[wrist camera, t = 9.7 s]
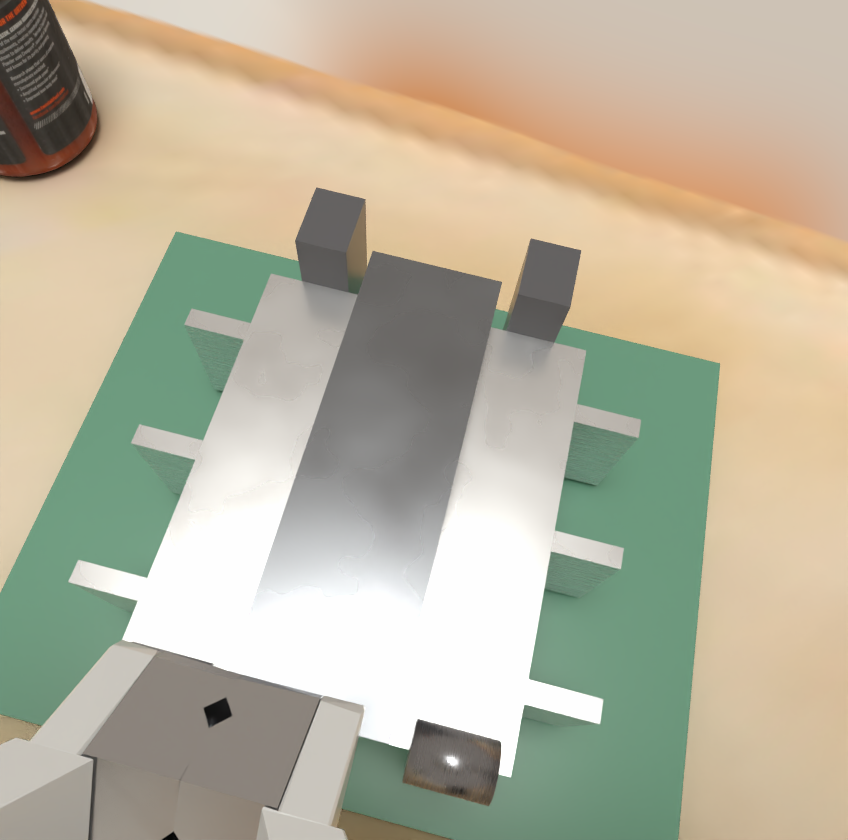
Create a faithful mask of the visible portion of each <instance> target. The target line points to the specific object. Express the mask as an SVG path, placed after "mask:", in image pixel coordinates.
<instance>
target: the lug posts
mask: <svg viewBox="0 0 848 840" xmlns="http://www.w3.org/2000/svg"><path fill="white" fill-rule="evenodd" d="M295 242H296V248H297V254H298V260H299V266H300V272H301V278H302V281H304V282H308V283H312V284H316V285H320V286H324V287H328V288H332V289H337V290H341V291H345V292H349V293H353V294H357V295H358V293H359V290H360V287H361V284H362V281H363V278H364V275H365V272H366V270H367V251H366V205H365V199H363V198H358V197H354V196H350V195H346V194H341V193H337V192H333V191H329V190H325V189H320V188H316V190H315V192H314V195H313V197H312V200H311V202H310V205H309V207H308V210H307V212H306V215H305V217H304V220H303V222H302V225H301V227H300V230H299V232H298V235H297V237H296V240H295ZM580 254H581V250H577V249H573V248H569V247H564V246H560V245H556V244H552V243H548V242H543V241H539V240H535V239H531V240H530V243H529V246H528V250H527V253H526V256H525V259H524V263H523V266H522V269H521V272H520V276H519V279H518V282H517V285H516V289H515V292H514V295H513V298H512V302H511V305H510V308H509V311H508V315H507V318H506V321H505V325H504V328H503V330H505V331H509V332H513V333H517V334H521V335H525V336H529V337H533V338H537V339H541V340H546V341H550V342H555V340H556V338H557V336H558V333H559V331H560V329H561V327H562V324H563V322H564V320H565V318H566V315H567V313H568V311H569V309H570V306H571V301H572V296H573V290H574V285H575V280H576V275H577V270H578V265H579V259H580Z"/></svg>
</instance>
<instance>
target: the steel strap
mask: <svg viewBox="0 0 848 840" xmlns="http://www.w3.org/2000/svg"><path fill="white" fill-rule="evenodd" d="M501 284H502V282H499V281H495V280H491V279H487V278H483V277H479V276H475V275H470V274H466V273H462V272H458V271H454V270H450V269H446V268H441V267H437V266H433V265H429V264H425V263H421V262H416V261H412V260H408V259H404V258H400V257H396V256H392V255H387V254H383V253H379V252H375V251H373V252H372V255H371V258H370V261H369V264H368V267H367V270H366V272H365V275H364V278H363V281H362V284H361V287H360V290H359V293H358V296H357V299H356V302H355V305H354V307H353V310H352V313H351V316H350V319H349V322H348V325H347V328H346V331H345V334H344V337H343V340H342V342H341V345H340V348H339V351H338V354H337V357H336V360H335V363H334V366H333V369H332V372H331V374H330V377H329V380H328V383H327V386H326V389H325V392H324V395H323V398H322V401H321V404H320V407H319V409H318V412H317V415H316V418H315V421H314V424H313V427H312V430H311V433H310V436H309V439H308V442H307V444H306V447H305V450H304V453H303V456H302V459H301V462H300V465H299V468H298V471H297V474H296V476H295V479H294V482H293V485H292V488H291V491H290V494H289V497H288V500H287V503H286V506H285V509H284V511H283V514H282V517H281V520H280V523H279V526H278V529H277V532H276V535H275V538H274V541H273V544H272V546H271V549H270V552H269V555H268V558H267V561H266V564H265V567H264V570H263V573H262V576H261V579H260V581H259V584H258V587H257V590H256V593H255V596H254V599H253V602H252V605H251V608H250V611H249V613H248V616H247V619H246V622H245V625H244V628H243V631H242V634H241V637H240V640H239V643H238V646H237V648H236V651H235V654H234V657H233V660H232V663H231V666H230V669H229V671H232V672H235V673H238V674H242V675H247V676H251V677H254V678H258V679H262V680H266V681H270V682H273V683H277V684H281V685H285V686H289V687H292V688H296V689H300V690H304V691H308V692H311V693H315V694H319V695H323V696H324V695H325V696H329V697H333V698H336V699H340V700H344V701H348V702H352V703H356V704H360V705H364V707H365V712H364V718H363V722H362V726H361V730H360V734H359V736H360V737H364V738H367V739H371V740H375V741H378V742H382V743H386V744H390V739H391V735H392V731H393V727H394V723H395V719H396V715H397V711H398V707H399V702H400V698H401V694H402V690H403V686H404V682H405V678H406V674H407V670H408V666H409V661H410V657H411V653H412V649H413V645H414V641H415V637H416V633H417V629H418V625H419V620H420V616H421V612H422V608H423V604H424V600H425V596H426V592H427V588H428V584H429V579H430V575H431V571H432V567H433V563H434V559H435V555H436V551H437V547H438V543H439V538H440V534H441V530H442V526H443V522H444V518H445V514H446V510H447V506H448V502H449V497H450V493H451V489H452V485H453V481H454V477H455V473H456V469H457V465H458V460H459V456H460V452H461V448H462V444H463V440H464V436H465V432H466V428H467V424H468V419H469V415H470V411H471V407H472V403H473V399H474V395H475V391H476V387H477V383H478V378H479V374H480V370H481V366H482V362H483V358H484V354H485V350H486V346H487V342H488V337H489V333H490V329H491V325H492V321H493V317H494V313H495V309H496V305H497V301H498V296H499V292H500V288H501Z"/></svg>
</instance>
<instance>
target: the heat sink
mask: <svg viewBox="0 0 848 840" xmlns="http://www.w3.org/2000/svg"><path fill="white" fill-rule="evenodd" d="M357 296H358V295H357V294H353V293H349V292H345V291H341V290H337V289H332V288H328V287H324V286H320V285H316V284H312V283H308V282H304V281H300V280H296V279H291V278H287V277H283V276H279V275H275V274H271V275H270V277H269V280H268V282H267V285H266V287H265V289H264V292H263V294H262V297H261V299H260V302H259V304H258V307H257V309H256V312H255V314H254V317H253V319H252V321H251V323H248V322H244V321H240V320H236V319H232V318H228V317H224V316H220V315H216V314H212V313H208V312H204V311H200V310H196V309H192V308H191V311H190V313H189V315H188V317H187V319H186V322H185V324H184V326H185V328H186V330H187V332H188V334H189V336H190V338H191V341H192V343H193V345H194V347H195V349H196V351H197V353H198V356H199V358H200V360H201V362H202V364H203V366H204V368H205V371H206V373H207V375H208V377H209V379H210V381H211V383H212V386H213V388H214V389H216V390H220V391H223V393H222V395H221V398H220V400H219V403H218V405H217V408H216V410H215V413H214V415H213V417H212V420H211V422H210V425H209V427H208V430H207V432H206V435H205V437H204V440H199V439H195V438H191V437H187V436H183V435H179V434H176V433H172V432H168V431H164V430H160V429H156V428H152V427H148V426H144V425H140V424H139V426H138V428H137V430H136V433H135V435H134V437H133V439H132V442H131V444H132V445H133V446H134V448H135V449H136V450H137V451H138V452H139V454H140V455H141V456H142V457H143V458H144V460H145V461H146V462H147V463H148V464H149V466H150V467H151V468H152V469H153V470H154V472H155V473H156V474H157V475H158V476H159V478H160V479H161V480H162V481H163V482H164V484H165V485H166V486H167V487H168V488H169V490H170V491H171V492H173V493H177V494H181V496H180V499H179V501H178V504H177V506H176V509H175V511H174V513H173V516H172V518H171V521H170V523H169V526H168V528H167V531H166V533H165V536H164V538H163V541H162V543H161V545H160V548H159V550H158V553H157V555H156V558H155V560H154V563H153V565H152V568H151V570H150V573H149V575H148V577H147V578H145V577H141V576H138V575H134V574H130V573H126V572H123V571H119V570H115V569H111V568H107V567H104V566H100V565H96V564H92V563H89V562H85V561H81V560H78V561H77V564H76V566H75V568H74V570H73V572H72V575H71V577H70V579H69V581H68V582H69V583H71V584H73V585H75V586H77V587H79V588H81V589H83V590H85V591H87V592H89V593H91V594H93V595H95V596H97V597H99V598H100V599H102V600H104V601H106V602H108V603H110V604H112V605H114V606H116V607H118V608H120V609H122V610H125V611H129V612H133V614H132V617H131V619H130V622H129V624H128V627H127V629H126V632H125V634H124V637H123V639H122V640H125V641H128V642H132V643H135V644H138V645H141V646H145V647H148V648H151V649H154V650H157V651H161V652H162V651H165V652H168V653H172V654H175V655H178V656H182V657H185V658H188V659H192V660H195V661H198V662H202V663H205V664H208V665H212V666H215V667H218V668H222V669H225V670H228V671H229V669H230V666H231V663H232V660H233V657H234V654H235V651H236V648H237V646H238V643H239V640H240V637H241V634H242V631H243V628H244V625H245V622H246V619H247V616H248V613H249V611H250V608H251V605H252V602H253V599H254V596H255V593H256V590H257V587H258V584H259V581H260V579H261V576H262V573H263V570H264V567H265V564H266V561H267V558H268V555H269V552H270V549H271V546H272V544H273V541H274V538H275V535H276V532H277V529H278V526H279V523H280V520H281V517H282V514H283V511H284V509H285V506H286V503H287V500H288V497H289V494H290V491H291V488H292V485H293V482H294V479H295V476H296V474H297V471H298V468H299V465H300V462H301V459H302V456H303V453H304V450H305V447H306V444H307V442H308V439H309V436H310V433H311V430H312V427H313V424H314V421H315V418H316V415H317V412H318V409H319V407H320V404H321V401H322V398H323V395H324V392H325V389H326V386H327V383H328V380H329V377H330V374H331V372H332V369H333V366H334V363H335V360H336V357H337V354H338V351H339V348H340V345H341V342H342V340H343V337H344V334H345V331H346V328H347V325H348V322H349V319H350V316H351V313H352V310H353V307H354V305H355V302H356V299H357ZM585 356H586V350H582V349H578V348H574V347H570V346H566V345H562V344H558V343H554V342H550V341H546V340H541V339H537V338H533V337H529V336H525V335H521V334H517V333H513V332H509V331H505V330H500V329H496V328H492V327H491V329H490V333H489V337H488V342H487V346H486V350H485V354H484V358H483V362H482V366H481V370H480V374H479V378H478V383H477V387H476V391H475V395H474V399H473V403H472V407H471V411H470V415H469V419H468V424H467V428H466V432H465V436H464V440H463V444H462V448H461V452H460V456H459V460H458V465H457V469H456V473H455V477H454V481H453V485H452V489H451V493H450V497H449V502H448V506H447V510H446V514H445V518H444V522H443V526H442V530H441V534H440V538H439V543H438V547H437V551H436V555H435V559H434V563H433V567H432V571H431V575H430V579H429V584H428V588H427V592H426V596H425V600H424V604H423V608H422V612H421V616H420V620H419V625H418V629H417V633H416V637H415V641H414V645H413V649H412V653H411V657H410V661H409V666H408V670H407V674H406V678H405V682H404V686H403V690H402V694H401V698H400V702H399V707H398V711H397V715H396V719H395V723H394V727H393V731H392V735H391V739H390V745H394V746H398V747H401V748H405V749H409V750H408V755H407V759H406V764H405V768H404V774H403V779H402V783H405V784H409V785H412V786H416V787H420V788H423V789H427V790H431V791H434V792H438V793H441V794H445V795H449V796H452V797H456V798H460V799H463V800H467V801H471V802H474V803H478V804H482V805H485V806H489V805H490V804H491V801H492V799H493V796H494V792H495V789H496V785H497V780H498V775H499V774H501V775H504V776H508V777H511V774H512V768H513V762H514V757H515V751H516V745H517V740H518V734H519V728H520V723H521V717H524V718H528V719H532V720H535V721H539V722H543V723H547V724H550V725H554V726H558V727H566V726H581V725H596V724H600V721H601V713H602V706H603V699H601V698H597V697H593V696H589V695H586V694H582V693H578V692H574V691H570V690H567V689H563V688H559V687H555V686H552V685H548V684H544V683H540V682H537V681H533V680H529V679H528V678H529V672H530V666H531V661H532V655H533V649H534V644H535V638H536V632H537V627H538V621H539V616H540V610H541V604H542V599H543V593H544V589H547V590H551V591H554V592H558V593H562V594H566V595H570V596H574V597H577V598H580V597H582V596H583V595H585V594H586V593H588V592H589V591H590V590H592V589H593V588H595V587H596V586H598V585H599V584H601V583H602V582H603V581H605V580H606V579H608V578H609V577H611V576H612V575H613V574H615V573H616V572H618V571H619V570H621V565H622V558H623V550H624V548H621V547H617V546H613V545H609V544H605V543H602V542H598V541H594V540H590V539H586V538H582V537H578V536H574V535H570V534H566V533H563V532H559V531H555V525H556V520H557V514H558V508H559V503H560V497H561V491H562V486H563V480H564V477H565V478H569V479H573V480H577V481H581V482H585V483H589V484H593V485H598V484H599V483H600V482H601V481H602V480H603V478H604V477H605V476H606V475H607V474H608V473H609V471H610V470H611V469H612V468H613V467H614V466H615V465H616V463H617V462H618V461H619V460H620V459H621V458H622V456H623V455H624V454H625V453H626V452H627V451H628V450H629V448H630V447H631V446H632V445H633V444H634V443H635V441H636V440H637V439H638V438H639V432H640V424H641V420H640V419H636V418H632V417H628V416H624V415H620V414H616V413H612V412H608V411H604V410H600V409H596V408H592V407H587V406H583V405H579V404H577V401H578V395H579V390H580V384H581V379H582V373H583V367H584V362H585Z"/></svg>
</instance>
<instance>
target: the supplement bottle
mask: <svg viewBox="0 0 848 840" xmlns="http://www.w3.org/2000/svg"><path fill="white" fill-rule="evenodd" d="M96 125H97V110H96V106H95V103H94V100H93V98H92V95H91V92H90V90H89V87H88V85H87V83H86V81H85V79H84V76H83V74H82V72H81V70H80V68H79V66H78V63H77V61H76V59H75V57H74V55H73V52H72V50H71V48H70V46H69V43H68V41H67V39H66V37H65V35H64V33H63V31H62V28H61V26H60V24H59V22H58V20H57V17H56V15H55V13H54V11H53V9H52V7H51V4H50V2H49V0H0V175H4V176H13V177H17V176H21V177H23V176H29V175H36V174H41V173H46V172H48V171H52V170H54V169H57V168H59V167H61V166H63V165H64V164H66V163H68V162H70V161H71V160H72V159H74V158H75V157H76V156H77V155H79V154H80V153H81V152H82V151H83V150H84V148H85V147H86V146H87V145H88V144H89V142H90V141H91V139H92V137H93V135H94V133H95V130H96Z"/></svg>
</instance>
